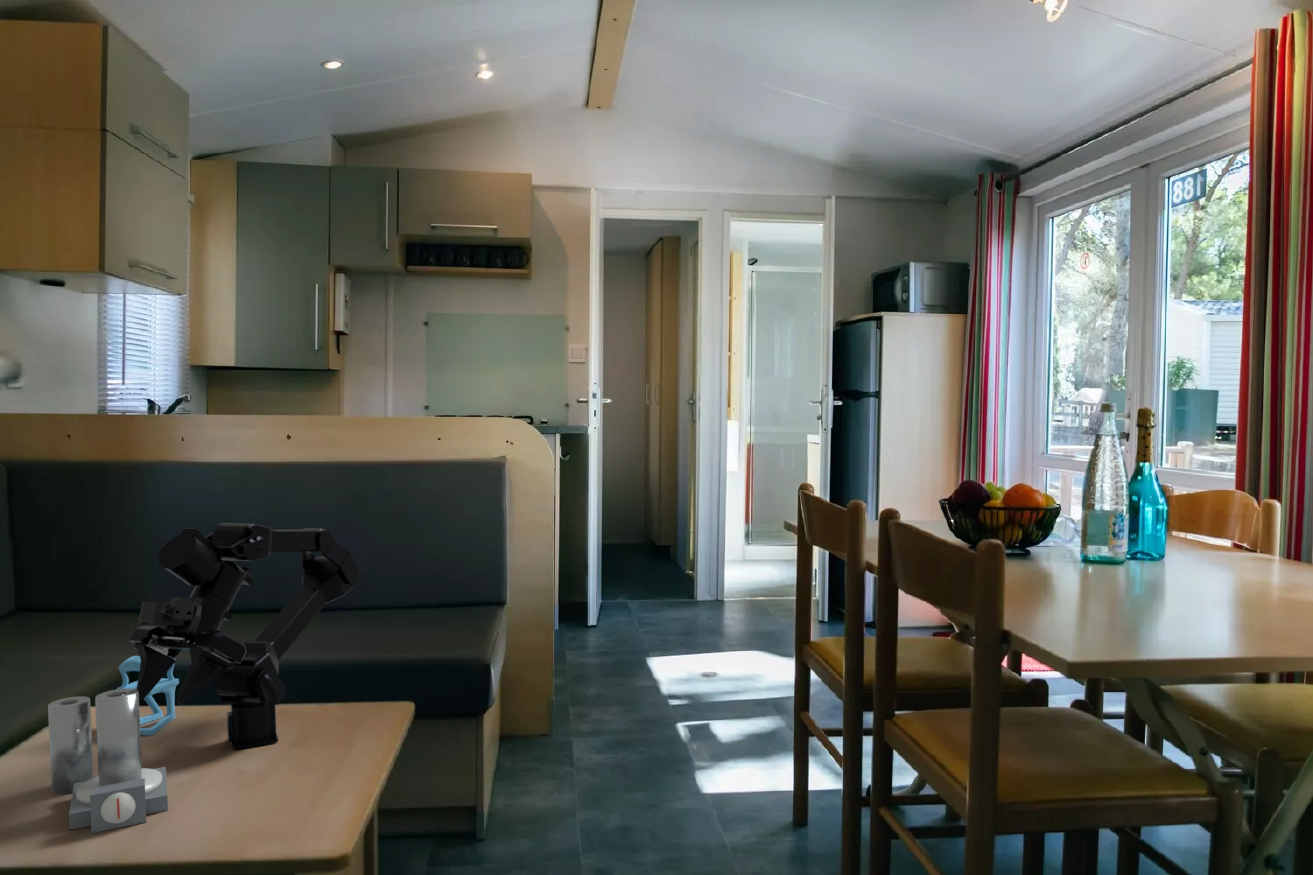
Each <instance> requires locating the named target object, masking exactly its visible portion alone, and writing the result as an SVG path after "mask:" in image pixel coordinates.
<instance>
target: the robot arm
mask: <svg viewBox="0 0 1313 875" xmlns="http://www.w3.org/2000/svg"><path fill="white" fill-rule="evenodd" d="M295 552H298V553H300V558H299V567H300V568H301V570H302V572H303V573H302V579H301V580H302V582H301V584H302V585H301V587H300V589H299V590H298V591H297V592H296V593H295V595H294V596H293V597H292V598H291V599H290V600H289V601H288V602H287V604H285V606H284V607H283V608H282V609H281V610H280V611H279V613H278V614H277V615H276V616H275V617H274V618H273V619H272V620H271V621H270V623H269V624H268V625H266V627H265V628H264V629H263V630H262V631H261V633H260V634H259V635H258V636H257V637H256V638H255V639H254V640H253V641H252V642H251V641H249V642H248V641H241V640H240V639H238V638H236V637H234V636H233V635H230V634H229V633H227V632H225V631H223V630H220V628H221V626H222V624H223V622H224V621H229V622H230V621H231V620H232V617H233V615H234V614H233V613H231V612H229V610H230V609H231V606H232V604H233V602H234V600H235V599H236V596H237V594H238V592H239V590H240V588H241V586H242V585H246V586H253V585H254V583H255V582H254V578H253V576H252V574H251V568H250V567H246V566H239V565H237V564H236V563H235V562H233V561H237V562H238V561H240V562H255V561H258V560H262V559H266V558H268V557H269V556H270V555H272V554H276V553H295ZM314 553H321V555H322V556H315V554H314ZM158 563H159V565H160V566H161V567H162V568H164V570H166V571H168V572H169V573H170V574H172V575H174V576H175V577H176V578H178V579H179V580H181V581H182V582H184V583H185V584H186V585H188V586H191V587H194V588H193V590H192V592H191V594H190V596H182V597H181V596H174V597H172V598H171V600H170V602H158V601H142V604H141V608H140V613H139V618H138V619H139V620H138V625H142V626H139V627H137V628H135V630H134V632H133V633H132V635H131V637H130V639H129V642H130V643H133V644H132V645H133V646H132V647H133V649H134V650H136V651H137V653H138V656H140V659H141V662H140V671H138V679H137V680H138V683H137V690H138V693H139V701H141V700H142V701H143V700H145V699H144V698H145V697H146V696H147V695H148V694H149V693H150V692H151V690H152V689H153V688H154V687H155V686H156V684H157V683H158V682H159V681H160V680H161V679H162V678H163V677H165V675H167V672H168V670H169V669H170V668H171V667H172V666H173V664H174V663H176V662H177V660H174V659H175V657H176V656H178V655H179V654H180V653H181V652H182V651H189V653H190V660H191V663H190V667H189V669H188V672H187V674H186V676H185V679H184V681H183V684H181V687H180V690H179V693H178V696H177V698H176V703H177V704H178V705H180V706H184V705H186V704H187V703H188V702H189V701H190V700H192V699H193V698H194V697H195V696H197V694H199V693H200V692H201V691H202V690H203V689H205V687H207V686H208V685H209V684H211V682H212V683H213V686H214V689H215V692H216V695H217V698H218V701H219V703H220V704H221V705H224V704H226V705H230V711H228V712H227V713H226V730H227V732H226V733H227V740H228V741H227V742H228V743H229V744H231V745H232V750H240V749H245V748H252V747H256V746H262V745H269V744H272V743H273V744H274V743H277V742H279V737H278V734H277V717H276V716H277V714H276V705H279V704H280V703H281V702H282V701H283V700H285V698H286V692H287V686H288V685H287V684H286V683H285V682H284V681H283V680H281V679H280V677H279V667H280V660H281V658H282V657H283V656H284V655H285V653H286V652H287V651H288V649H290V647H291V646H292V645H293V644H294V642H295V641H296V640H297V639H298V638H299V636H300V635H301V634H302V633H303V632H304V631H305V629H306V628H307V627H308V626H309V625H310V623H311V622H312V621H313V620H314V618H315V617H317V615H318V614H319V613H320V612H321V611H322V609H323V608H324V607H325V605H327V604H328V603H330V602H333V601H335V600H338V599H339V598H342V597H343V596H345V595H347V593H349V592H350V591H351V590H352V589H353V588H354V587H355V585H356V584H357V582H358V580H359V575H360V572H359V567H358V565H357V563H356V562H355V559H354V558H353V556H352V554H351V553H350V551H349V550H348V549H346V548H345V547H343V546H342V545H341V544H340V543H339V542H338V541H336V540H335V539H334V537H333V535H332V533H331V532H330V531H329V530H326V528H311V527H310V528H302V529H272V528H271V527H270V526H265V525H262V524H258V523H239V522H238V523H235V522H222V523H219V524H217V525H216V526H215V529H214V531H213V532H211V533H209V534H208V535H206V536H204V534H203V533H202V532H201V531H200V530H199V529H197V528H196V527H183V529H182V531H181V533H180V534H179V535H176V536H174V537H173V538H171V539H170V540H168V542H166V544H165V545H163V546H162V547H161V549H160V551H159V553H158ZM146 624H150V625H146ZM159 626H162V627H159Z"/></svg>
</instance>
